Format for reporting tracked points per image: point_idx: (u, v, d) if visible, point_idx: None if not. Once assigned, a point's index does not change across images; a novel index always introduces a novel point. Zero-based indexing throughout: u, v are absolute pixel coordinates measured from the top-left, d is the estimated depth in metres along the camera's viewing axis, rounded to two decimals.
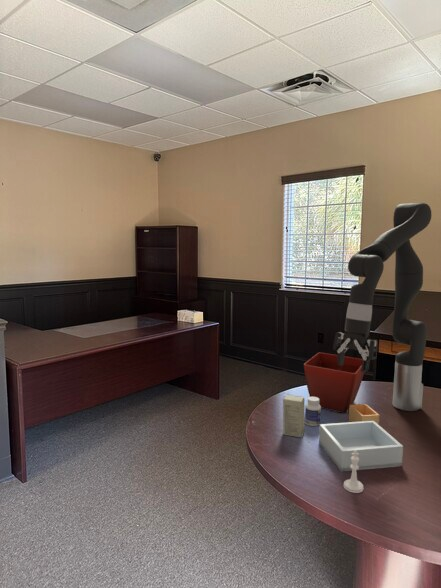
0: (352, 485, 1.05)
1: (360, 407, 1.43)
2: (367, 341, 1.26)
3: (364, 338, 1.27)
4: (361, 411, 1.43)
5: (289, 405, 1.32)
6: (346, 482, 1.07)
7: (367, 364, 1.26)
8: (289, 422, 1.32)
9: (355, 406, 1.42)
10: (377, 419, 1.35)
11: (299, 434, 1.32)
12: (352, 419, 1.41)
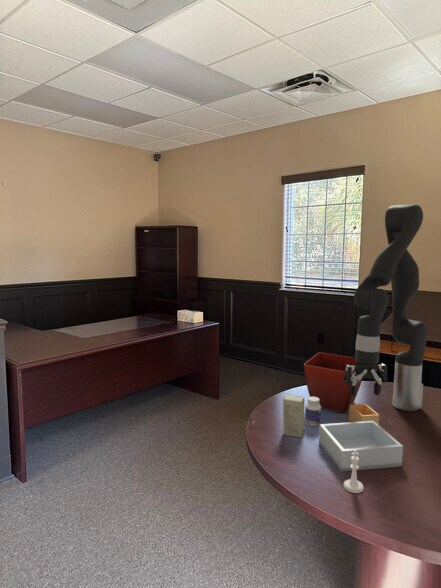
0: (352, 485, 1.05)
1: (360, 407, 1.43)
2: (379, 367, 1.36)
3: (378, 365, 1.36)
4: (361, 411, 1.43)
5: (289, 405, 1.32)
6: (346, 482, 1.07)
7: None
8: (289, 422, 1.32)
9: (355, 406, 1.42)
10: (377, 419, 1.35)
11: (299, 434, 1.32)
12: (352, 419, 1.41)
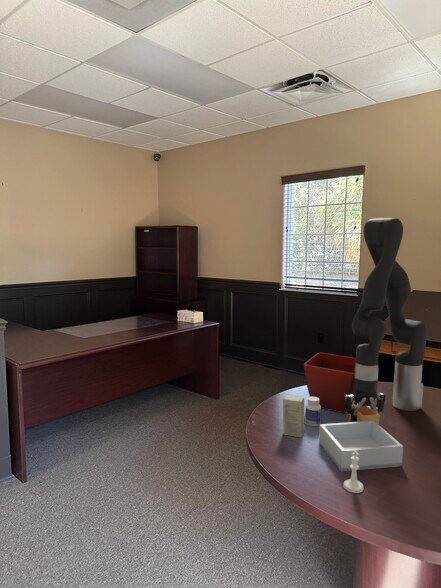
0: (352, 485, 1.05)
1: None
2: (377, 395, 1.38)
3: (376, 393, 1.37)
4: (361, 411, 1.43)
5: (289, 405, 1.32)
6: (346, 482, 1.07)
7: None
8: (289, 422, 1.32)
9: None
10: (377, 419, 1.35)
11: (299, 434, 1.32)
12: None
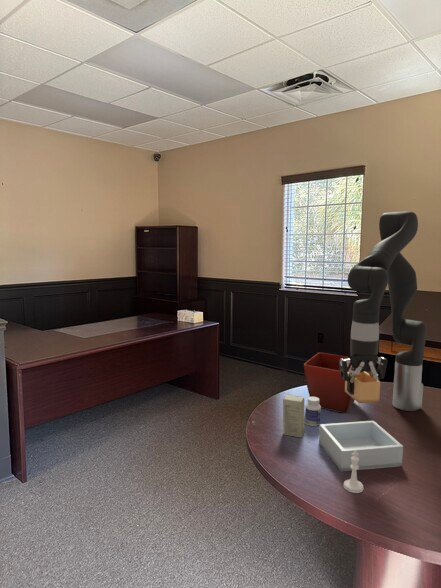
0: (352, 485, 1.05)
1: (358, 375, 1.23)
2: (378, 360, 1.18)
3: (377, 357, 1.18)
4: (359, 380, 1.23)
5: (289, 405, 1.32)
6: (346, 482, 1.07)
7: None
8: (289, 422, 1.32)
9: None
10: (378, 386, 1.15)
11: (299, 434, 1.32)
12: None
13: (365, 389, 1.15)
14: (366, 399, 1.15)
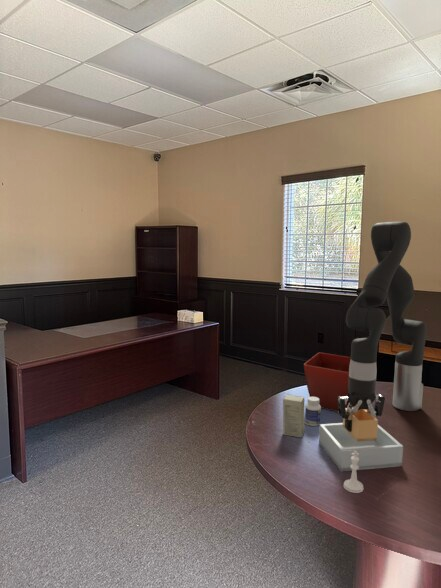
0: (352, 485, 1.05)
1: None
2: (376, 397, 1.20)
3: (375, 395, 1.19)
4: (357, 415, 1.25)
5: (289, 405, 1.32)
6: (346, 482, 1.07)
7: None
8: (289, 422, 1.32)
9: None
10: (375, 425, 1.17)
11: (299, 434, 1.32)
12: None
13: (362, 428, 1.16)
14: (364, 437, 1.17)
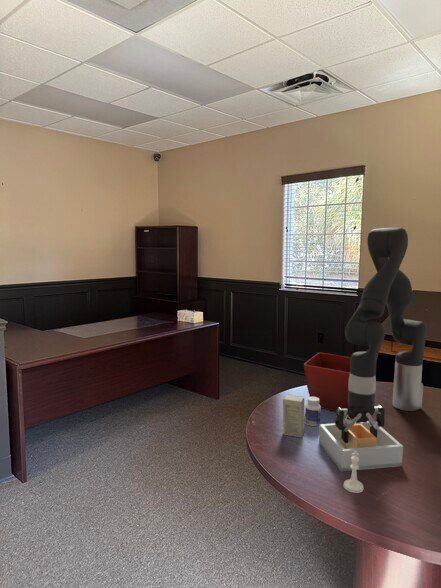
0: (352, 485, 1.05)
1: (355, 428, 1.25)
2: (375, 409, 1.20)
3: (373, 408, 1.20)
4: (356, 432, 1.26)
5: (289, 405, 1.32)
6: (346, 482, 1.07)
7: None
8: (289, 422, 1.32)
9: None
10: (374, 443, 1.17)
11: (299, 434, 1.32)
12: None
13: (361, 446, 1.17)
14: None
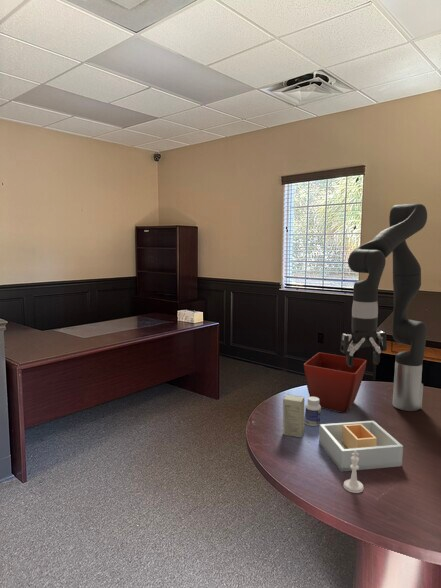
0: (352, 485, 1.05)
1: (355, 428, 1.25)
2: (378, 335, 1.28)
3: (376, 333, 1.27)
4: (356, 432, 1.26)
5: (289, 405, 1.32)
6: (346, 482, 1.07)
7: None
8: (289, 422, 1.32)
9: (349, 427, 1.25)
10: (374, 443, 1.17)
11: (299, 434, 1.32)
12: (346, 442, 1.23)
13: (361, 446, 1.17)
14: None
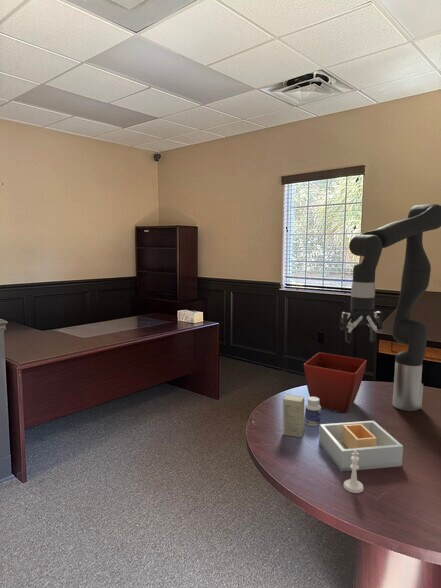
0: (352, 485, 1.05)
1: (355, 428, 1.25)
2: (374, 314, 1.39)
3: (373, 312, 1.38)
4: (356, 432, 1.26)
5: (289, 405, 1.32)
6: (346, 482, 1.07)
7: None
8: (289, 422, 1.32)
9: (349, 427, 1.25)
10: (374, 443, 1.17)
11: (299, 434, 1.32)
12: (346, 442, 1.23)
13: (361, 446, 1.17)
14: None
